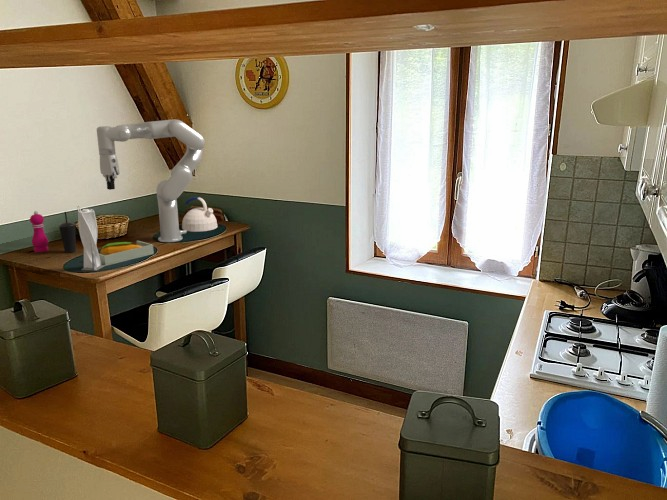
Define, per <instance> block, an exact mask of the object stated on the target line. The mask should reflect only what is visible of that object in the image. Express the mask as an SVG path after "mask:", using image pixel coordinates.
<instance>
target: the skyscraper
mask: <svg viewBox="0 0 667 500" xmlns="http://www.w3.org/2000/svg"><path fill="white" fill-rule="evenodd" d="M76 207H77V215H78V216H77V217H78V218H77V220H78V221H77V222H78V232H79V236H80V240H81V244H82V246H83V267H82V268H81V271H93V272H96V271H98V270H101V269H102V268H104V267H106V266H105V265H101V261H100V257H99V254H100V253H99V250H98V246H97V241H98V225H97V223H98V222H97V218H96V212H95V210H94V209H93V208H83V209H82V210H81V207H80V206H79V205H78V206H76Z"/></svg>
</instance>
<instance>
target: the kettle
mask: <svg viewBox="0 0 667 500" xmlns="http://www.w3.org/2000/svg"><path fill="white" fill-rule="evenodd" d="M194 200H199V201H200V202H201V204H202V207H191V208H190V210H188V212H186V214H184V217H183V218H182V221H181V222H182V223H181V229H182V231H183V230H186V231H187V232H193V233H196V232H197V233H198V232H199V233H200V232H201V233H202V232H208V231H214V230H215V229H217V228H218V222H217V218H216V216H215V214H214V210H213V208H212V207H208V206H207V203H206V201H205V200H204V199H203V198H202V197H200V196H199V197H198V196H197V197H196V196H195V197H190V198H188V199H187V201H185V204H186V205H187V204H189V203H190V202H192V201H194Z"/></svg>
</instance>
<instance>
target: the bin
mask: <svg viewBox="0 0 667 500" xmlns="http://www.w3.org/2000/svg"><path fill="white" fill-rule="evenodd" d="M136 245H140V246H142V247H139V248H135V249H131V250H127V251H122V252H118V253H114V254H110V255H102V254H101V253H99V257H100V261H101V265H105V266H104V267H106V266H111V265H115V264H119V263H122V262H127V261H132V260H135V259H139V258H142V257H147V256H150V255H154V254H155V251H154V244H151V243H148V242H144V241H142V240H141V241H140V240H136Z"/></svg>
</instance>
